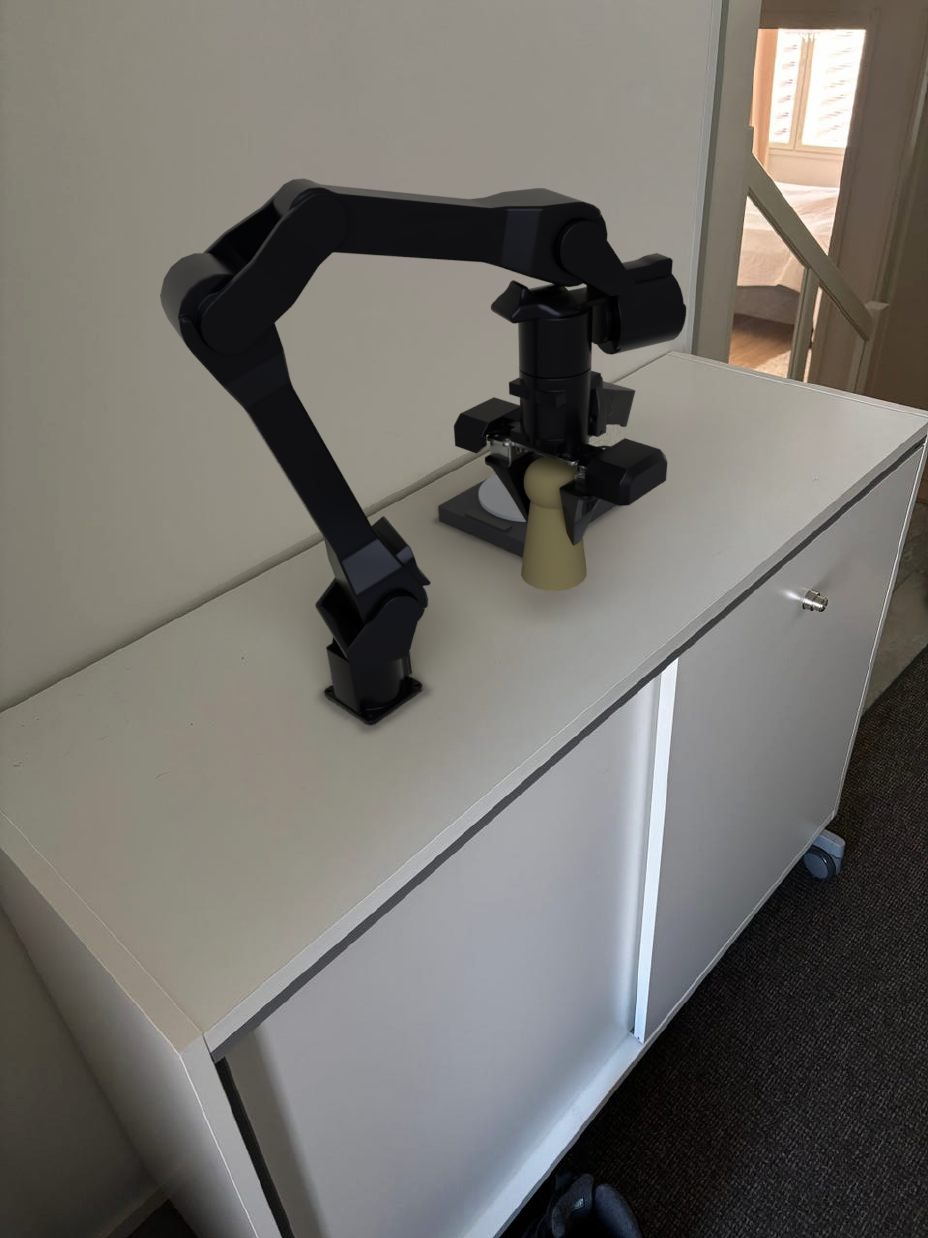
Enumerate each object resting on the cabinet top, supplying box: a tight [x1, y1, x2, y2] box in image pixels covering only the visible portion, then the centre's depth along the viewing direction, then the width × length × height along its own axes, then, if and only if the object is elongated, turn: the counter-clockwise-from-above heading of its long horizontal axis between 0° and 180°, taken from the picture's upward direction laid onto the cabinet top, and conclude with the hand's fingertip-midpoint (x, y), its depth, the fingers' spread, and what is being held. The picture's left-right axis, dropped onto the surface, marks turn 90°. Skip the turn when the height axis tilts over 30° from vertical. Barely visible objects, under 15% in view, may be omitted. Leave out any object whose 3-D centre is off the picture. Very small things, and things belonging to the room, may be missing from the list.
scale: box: [437, 473, 617, 558], centre depth 107 cm, size 17×14×3 cm
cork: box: [520, 457, 588, 592], centre depth 81 cm, size 6×6×11 cm
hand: (555, 535), depth 82 cm, fingers closed on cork, 4 cm apart
